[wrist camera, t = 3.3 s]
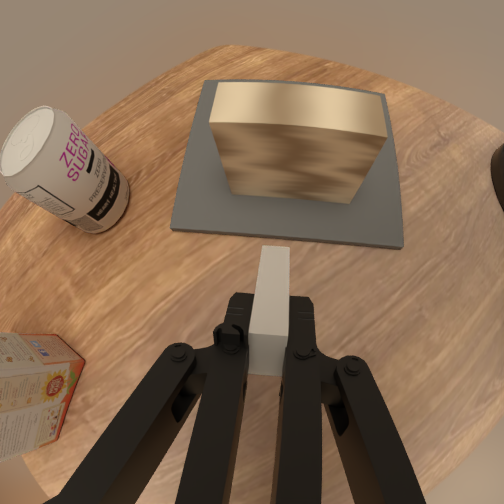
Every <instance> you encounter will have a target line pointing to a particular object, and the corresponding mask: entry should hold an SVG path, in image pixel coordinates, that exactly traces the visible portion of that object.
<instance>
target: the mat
mask: <svg viewBox="0 0 504 504" xmlns="http://www.w3.org/2000/svg"><path fill="white" fill-rule="evenodd" d="M218 82H262V83H284V84H298V85H309V86H319V87H328V88H336V89H343V90H350V91H356V92H362V93H368V94H373V95H378V96H380V98H381V103H382V108H383V113H384V118H385V124H386V130H387V136H388V138H387V140H386V141H385V143H384V145H383V147H382V149H381V150H380V152H379V154H378V156H377V158H376V159H375V161H374V163H373V165H372V166H371V168H370V170H369V172H368V173H367V175H366V177H365V178H364V180H363V182H362V184H361V185H360V187H359V189H358V190H357V192H356V194H355V195H354V197H353V199H352V200H351V202H350V204H344V203H334V202H324V201H314V200H303V199H291V198H278V197H264V196H249V195H232V193H231V190H230V187H229V184H228V181H227V177H226V174H225V171H224V168H223V165H222V162H221V159H220V156H219V152H218V149H217V146H216V143H215V140H214V137H213V134H212V131H211V127H210V124H209V120H210V115H211V111H212V107H213V103H214V98H215V94H216V90H217V86H218ZM170 229H171V230H172V231H182V232H197V233H211V234H225V235H238V236H251V237H264V238H276V239H289V240H301V241H313V242H324V243H336V244H347V245H358V246H369V247H379V248H390V249H402V248H403V247H404V239H403V219H402V205H401V194H400V184H399V175H398V166H397V159H396V152H395V145H394V139H393V133H392V127H391V122H390V117H389V112H388V107H387V102H386V98H385V94H382V93H377V92H371V91H366V90H360V89H354V88H348V87H341V86H333V85H325V84H316V83H306V82H294V81H278V80H246V79H233V80H205V81H204V84H203V88H202V91H201V95H200V98H199V102H198V105H197V109H196V113H195V116H194V120H193V124H192V128H191V132H190V136H189V140H188V144H187V148H186V152H185V156H184V161H183V165H182V169H181V174H180V178H179V183H178V188H177V193H176V198H175V203H174V208H173V213H172V218H171V224H170Z"/></svg>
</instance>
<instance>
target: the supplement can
mask: <svg viewBox="0 0 504 504" xmlns="http://www.w3.org/2000/svg"><path fill="white" fill-rule="evenodd" d="M0 172H1V173H2V174H3V177H4V179H5V182H6V184H7V185H8V186H9V187H10V188H11V189H12V190H13V191H15V192H16V193H18V194H20V195H21V196H23V197H25V198H26V199H28V200H30V201H31V202H33V203H35V204H37V205H38V206H40V207H42V208H43V209H45V210H47V211H49V212H50V213H52V214H54V215H56V216H57V217H59V218H61V219H63V220H64V221H66V222H68V223H70V224H72V225H73V226H75V227H77V228H79V229H81V230H83V231H84V232H87V233H94V234H95V233H99V232H102V231H105V230H107V229H108V228H110V227H111V226H112V225H114V224H115V223H116V222H117V220H118V219H119V218H120V217H121V216H122V214H123V212H124V210H125V208H126V205H127V203H128V197H129V187H128V182H127V180H126V179H125V177H124V176H123V174H122V173H121V172H120V171H119V170H118V169H117V168H116V167H115V166H114V165H113V164H112V163H111V162H110V160H109V159H108V158H107V157H106V156H105V155H104V154H103V153H102V152H101V151H100V150H99V149H98V148H97V147H96V145H95V144H94V143H93V142H92V141H91V140H90V139H89V138H88V137H87V136H86V135H85V134H84V132H83V131H82V130H81V129H80V128H79V127H78V126H77V125H76V124H75V123H74V121H73V120H72V119H71V118H70V117H69V116H68V115H67V114H66V113H65V112H64V111H61V110H58V109H53V108H51V107H48V106H42V107H37V108H35V109H34V110H32V111H30V112H29V113H28V114H26V115H25V116H24V117H23V118H22V119H21V120H20V121H19V122H18V123H17V124H16V125H15V127H14V128H13V129H12V131H11V132H10V134H9V135H8V137H7V139H6V141H5V143H4V145H3V147H2V150H1V153H0Z"/></svg>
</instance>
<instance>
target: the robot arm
mask: <svg viewBox="0 0 504 504" xmlns="http://www.w3.org/2000/svg"><path fill="white" fill-rule="evenodd" d="M491 172H492V179H493V183H494V187H495V190H496V193H497V196H498V198H499V201H500V203H501V205H502V207H503V209H504V144H502V145H501V146H500V147H499V148H498V149H497V150H496V151H495V153H494V154H493V157H492V162H491ZM289 268H290V247H281V246H266V245H262V251H261V258H260V264H259V270H258V277H257V283H256V289H255V294H250V293H238V292H236V293H235V294H234V295H233V296H232V297H231V298H230V300H229V304H228V308H227V312H226V315H225V319H224V323H222V324H219V325H218V326H217V327H215V329H214V331H213V337H214V344H213V345H212V346H209V347H206V348H201V349H193V348H192V346H190V345H188V344H186V343H174V344H172V345H169V346H168V347H167V348H166V349H165V350H164V351H163V353H162V354H161V355H160V357H159V358H158V359H157V361H156V362H155V363H154V365H153V366H152V367H151V369H150V370H149V371H148V373H147V374H146V375H145V377H144V378H143V379H142V381H141V382H140V383H139V385H138V386H137V388H136V389H135V390H134V392H133V393H132V394H131V396H130V397H129V398H128V400H127V401H126V402H125V404H124V405H123V406H122V408H121V409H120V411H119V412H118V413H117V415H116V416H115V417H114V419H113V420H112V421H111V423H110V424H109V425H108V427H107V428H106V430H105V431H104V432H103V434H102V435H101V436H100V438H99V439H98V441H97V442H96V443H95V445H94V446H93V447H92V449H91V450H90V451H89V453H88V454H87V456H86V457H85V458H84V460H83V461H82V463H81V464H80V465H79V467H78V468H77V469H76V471H75V472H74V474H73V475H72V476H71V478H70V479H69V481H68V482H67V483H66V485H65V486H64V488H63V489H62V490H61V492H60V493H59V495H57V496H55V497H53V498H52V499H50V500H48V501H46V502H45V503H43V504H135V503H136V501H137V500H138V498H139V496H140V495H141V493H142V492H143V490H144V488H145V487H146V485H147V484H148V482H149V480H150V479H151V477H152V476H153V474H154V472H155V471H156V469H157V467H158V466H159V464H160V462H161V461H162V459H163V458H164V456H165V454H166V453H167V451H168V449H169V448H170V446H171V444H172V443H173V441H174V439H175V438H176V436H177V434H178V433H179V431H180V429H181V428H182V426H183V424H184V423H185V421H186V419H187V418H188V416H189V414H190V412H191V411H192V409H193V407H194V406H195V404H196V402H197V401H198V399H199V397H200V395H201V394H202V396H201V400H200V404H199V408H198V412H197V416H196V420H195V424H194V428H193V432H192V436H191V440H190V444H189V448H188V452H187V456H186V460H185V464H184V468H183V472H182V476H181V481H180V485H179V489H178V493H177V497H176V501H175V504H229V499H230V493H231V486H232V480H233V474H234V468H235V461H236V455H237V449H238V442H239V436H240V429H241V422H242V416H243V409H244V402H245V396H246V389H247V376H248V374H255V375H267V376H281V377H282V381H281V387H280V393H279V396H280V402H279V416H278V428H277V441H276V452H275V463H274V474H273V484H272V493H271V503H270V504H321V491H322V410H321V403H324V407H325V410H326V413H327V416H328V419H329V422H330V425H331V428H332V431H333V435H334V438H335V441H336V444H337V447H338V451H339V454H340V457H341V460H342V463H343V467H344V470H345V473H346V476H347V480H348V483H349V486H350V490H351V493H352V496H353V500H354V503H355V504H426V502H425V499H424V496H423V494H422V491H421V488H420V486H419V483H418V480H417V478H416V475H415V473H414V470H413V468H412V465H411V463H410V460H409V458H408V455H407V453H406V450H405V448H404V446H403V443H402V441H401V438H400V436H399V434H398V431H397V429H396V427H395V424H394V422H393V420H392V418H391V415H390V413H389V411H388V408H387V406H386V404H385V402H384V400H383V397H382V395H381V393H380V391H379V389H378V386H377V384H376V382H375V380H374V378H373V376H372V373H371V371H370V369H369V367H368V365H367V364H366V362H365V361H364V360H363V359H361V358H360V357H357V356H353V355H352V356H345V357H342V358H341V359H340V360H337V359H333V358H330V357H328V356H325V355H324V354H322V353H321V352H320V351H319V349H318V348H317V345H316V336H315V321H314V307H313V303H312V302H311V300H310V298H309V297H300V296H289Z"/></svg>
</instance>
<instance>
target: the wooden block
mask: <svg viewBox="0 0 504 504" xmlns="http://www.w3.org/2000/svg"><path fill="white" fill-rule="evenodd" d="M209 124H210V127H211V131H212V134H213V137H214V140H215V143H216V146H217V149H218V152H219V156H220V159H221V162H222V165H223V168H224V171H225V174H226V177H227V181H228V184H229V187H230V190H231V193H232V195H249V196H264V197H278V198H291V199H303V200H314V201H324V202H334V203H344V204H350V202H351V200H352V199H353V197H354V195H355V194H356V192H357V190H358V189H359V187H360V185H361V184H362V182H363V180H364V178H365V177H366V175H367V173H368V172H369V170H370V168H371V166H372V165H373V163H374V161H375V159H376V158H377V156H378V154H379V152H380V150H381V149H382V147H383V145H384V143H385V141H386V140H387V138H388V136H387V130H386V124H385V118H384V113H383V108H382V103H381V98H380V96H378V95H373V94H368V93H362V92H356V91H350V90H343V89H336V88H328V87H319V86H309V85H298V84H284V83H262V82H218V86H217V90H216V94H215V98H214V103H213V107H212V111H211V115H210V120H209Z"/></svg>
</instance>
